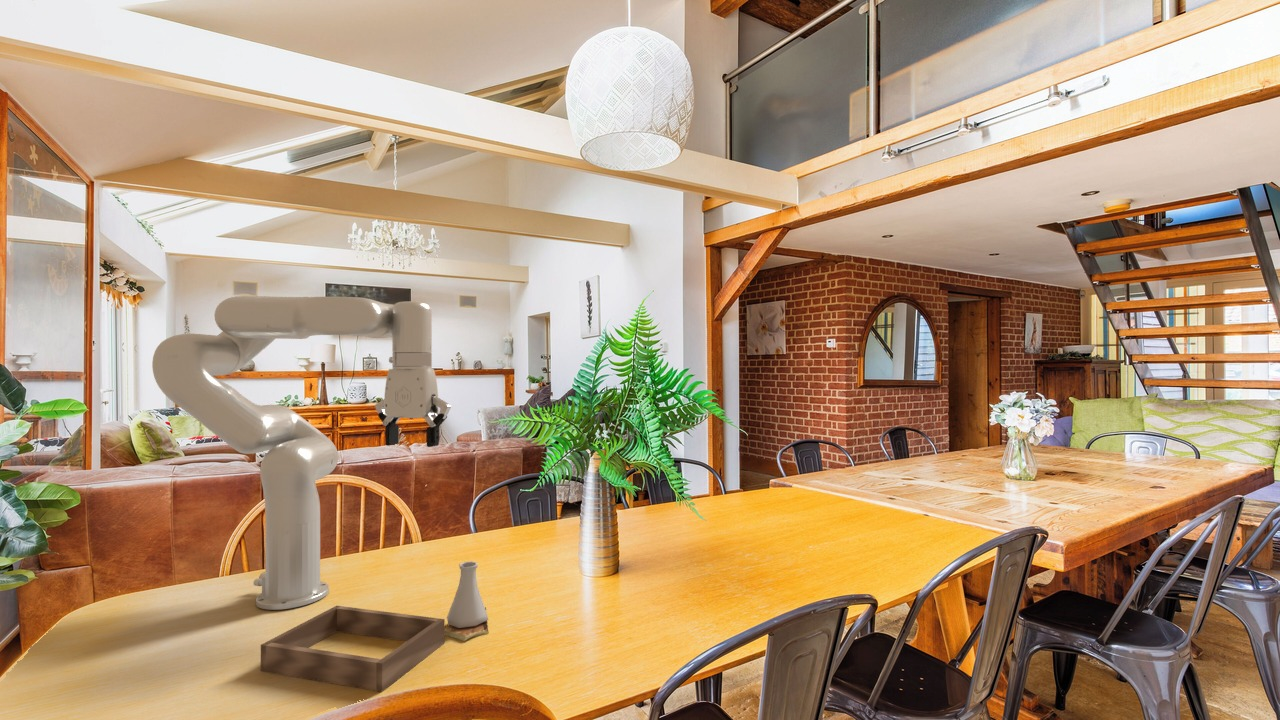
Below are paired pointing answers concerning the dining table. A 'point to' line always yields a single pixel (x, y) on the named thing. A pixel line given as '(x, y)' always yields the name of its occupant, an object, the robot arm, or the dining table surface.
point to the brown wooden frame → (351, 670)
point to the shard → (467, 631)
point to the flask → (467, 600)
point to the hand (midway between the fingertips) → (412, 445)
